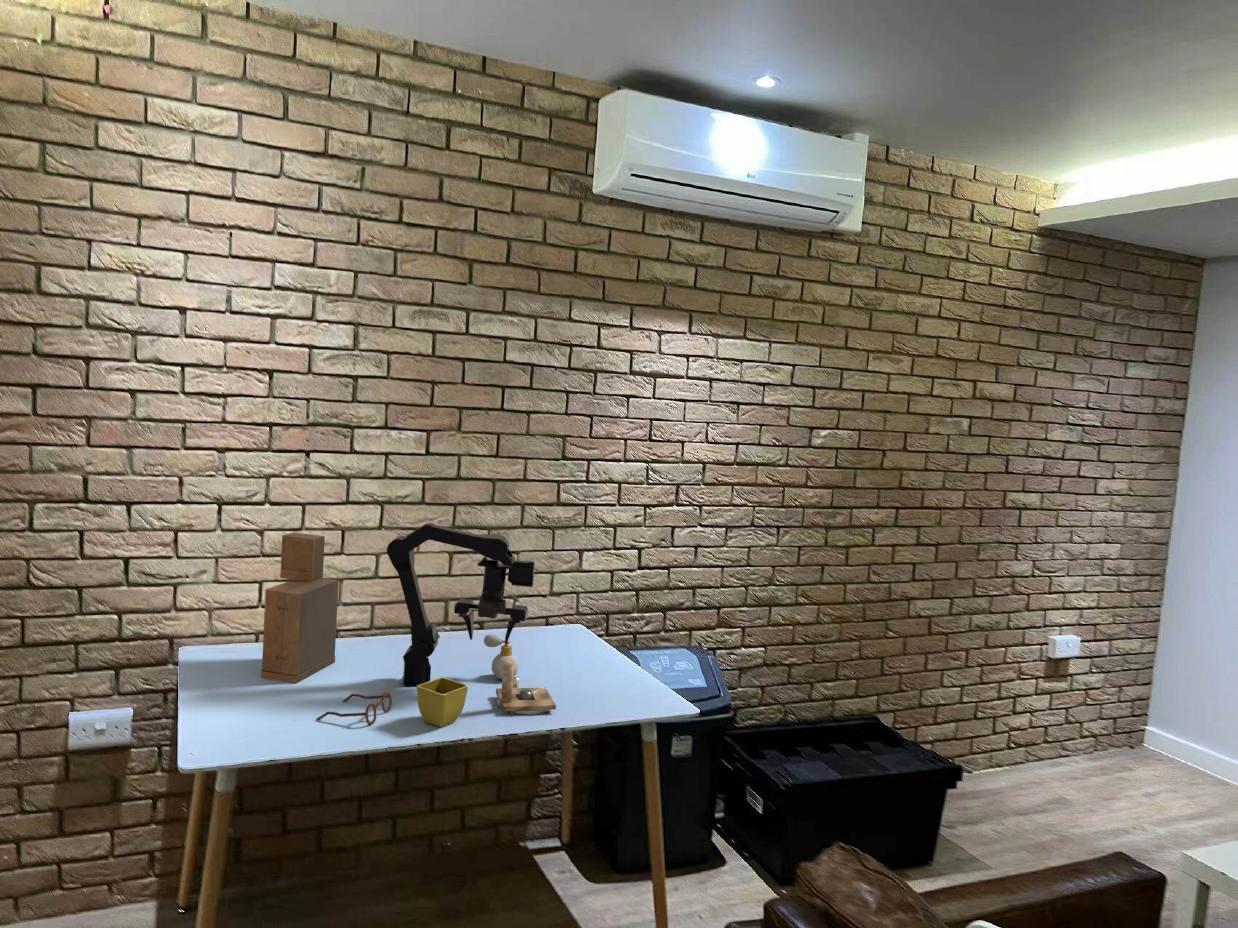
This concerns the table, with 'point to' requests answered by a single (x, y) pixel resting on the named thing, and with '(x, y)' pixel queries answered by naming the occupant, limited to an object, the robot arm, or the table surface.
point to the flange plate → (511, 695)
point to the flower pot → (441, 700)
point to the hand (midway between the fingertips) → (488, 641)
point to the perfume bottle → (501, 655)
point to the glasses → (385, 695)
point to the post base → (523, 696)
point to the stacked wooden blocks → (300, 613)
